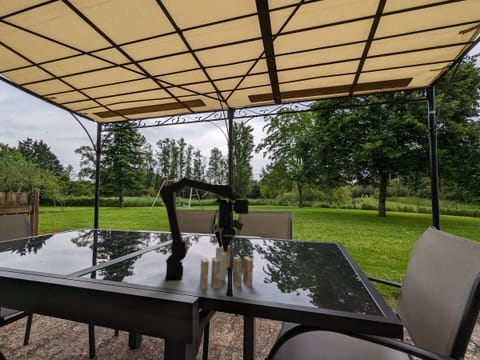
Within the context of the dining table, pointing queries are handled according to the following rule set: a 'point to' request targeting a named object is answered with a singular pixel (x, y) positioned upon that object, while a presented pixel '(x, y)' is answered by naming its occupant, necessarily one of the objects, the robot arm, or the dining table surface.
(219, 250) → the small box
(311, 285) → the dining table surface
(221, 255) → the domino
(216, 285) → the domino
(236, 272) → the domino
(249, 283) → the domino
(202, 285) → the domino
